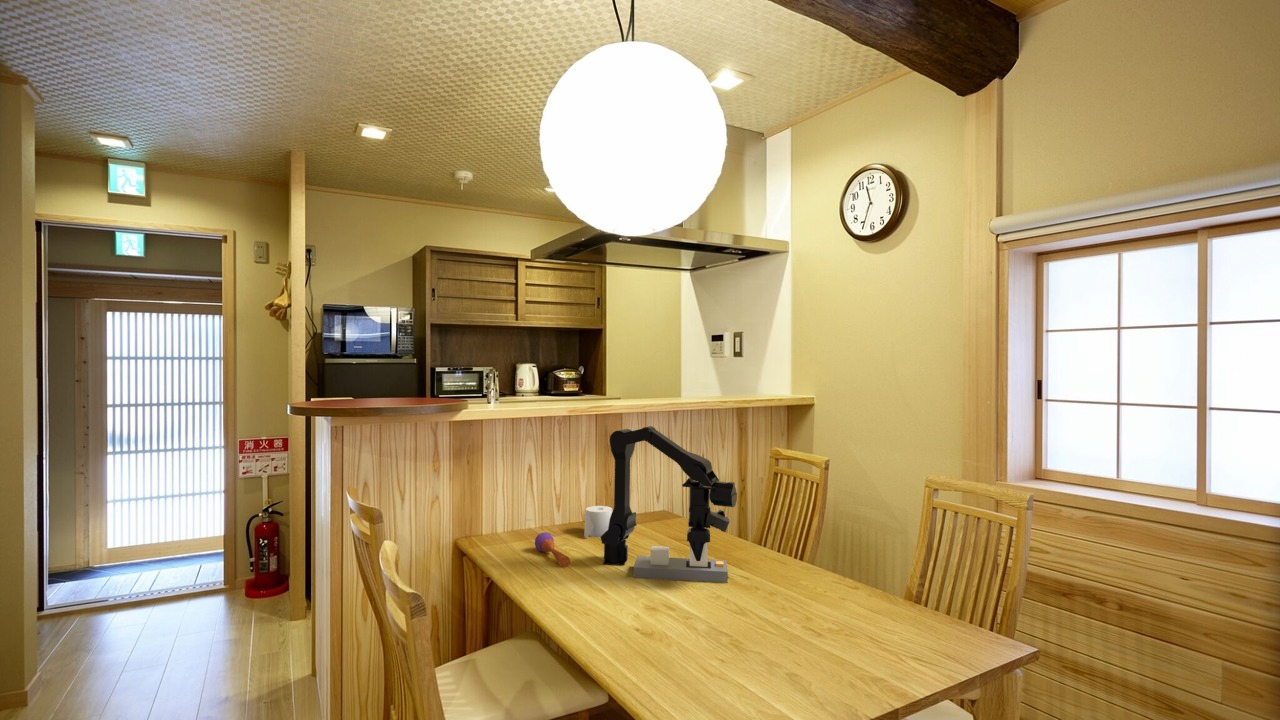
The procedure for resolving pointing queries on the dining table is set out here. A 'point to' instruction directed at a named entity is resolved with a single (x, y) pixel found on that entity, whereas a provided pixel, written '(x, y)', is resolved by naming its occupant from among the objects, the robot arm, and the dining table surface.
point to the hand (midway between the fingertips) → (698, 558)
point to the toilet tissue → (597, 520)
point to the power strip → (677, 568)
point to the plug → (704, 557)
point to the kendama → (550, 548)
